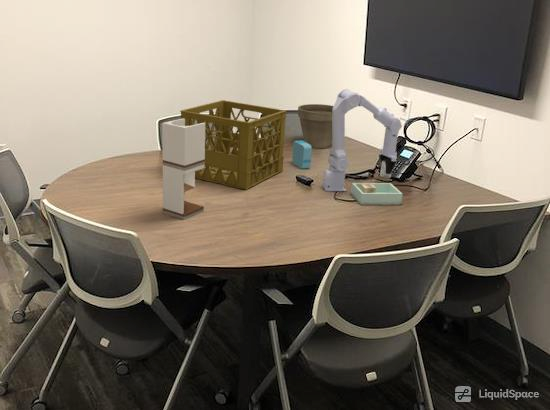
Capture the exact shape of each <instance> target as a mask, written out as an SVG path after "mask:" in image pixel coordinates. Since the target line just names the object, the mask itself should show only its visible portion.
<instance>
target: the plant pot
mask: <svg viewBox="0 0 550 410" xmlns="http://www.w3.org/2000/svg"><path fill="white" fill-rule="evenodd" d="M333 107H334V105H330V104H322V103H320V104H319V103H316V104H314V103H313V104H312V103H310V104H307V103H306V104H302V105H299V106H298V107H297V117H298V118H299V121H300V126H301V128H300V129H301V132H302V138H303V141H304V142H306V143H308V144H310V145H311V147H312V149H313V148H314V149H326V148H329V147H330V146H331V144H332V109H333Z"/></svg>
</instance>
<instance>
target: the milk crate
mask: <svg viewBox="0 0 550 410" xmlns="http://www.w3.org/2000/svg"><path fill="white" fill-rule="evenodd" d="M215 109H216V110H215ZM233 109H237V110H239V111H238V113H237V115H236V116H235V113H234V110H233ZM214 110H215V112H214ZM245 111H249V112H254V113H260V114H261V115H262V117H260V118H255V117H252V116H251V117H250V116H246V115H245V114H244V112H245ZM287 111H288V110H287V109H278V108H273V107H266V106H260V105H254V104H249V103H242V102H236V101H230V100H222V99H221V100H217V101H214V102H210V103H206V104H202V105H198V106H193V107H189V108H186V109H185V108H184V109H181V110H179V112H180V116H179V118H180V119H183V118H184V119H185V126H192V125H195V122H197V123H196V124H200V123H205V168H203V169H200V170H197V171H195V179H198V180H203V181H208V182H211V183H215V184H221V185H224V186H228V187H233V188H237V189H241V190H248V189H250V188H252V187H253V186H256V185H258V184H260V183H262V182H263V181H265V180H268V179H270V178H271V177H273V176H275V175H277V174H279V173H281V172H283V170H284V157H285V156H284V145H285V143H286V142H285V130H286V119H287V118H286V117H287ZM203 112H208V114H204V113H203ZM240 115H241V116H242V118H243V119H244V120H238V119H239V116H240ZM232 117H233V118H232ZM210 124H211V126H210ZM266 124H267V125H266ZM233 128H236V129H237V130H236V131H235V132H232V131H233ZM263 128H266V129H263ZM231 148H232V150H231V152H230V149H231ZM213 175H214V176H213Z"/></svg>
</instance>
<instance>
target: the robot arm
mask: <svg viewBox="0 0 550 410" xmlns="http://www.w3.org/2000/svg"><path fill="white" fill-rule="evenodd" d="M333 106H334V107H333V109H332V142H331V144H332V148H331V149H330V151H329V156H328V157H327V163H328V164H329V168H328V169H324V170H323V174H322V182H321V183H322V184H321V186H322V188H323V189H324V191H325V192H346V191H347V189H346V188H345V179H346V170H347V169H349V165H350V163H349V159H348V155H347V152H346V149H345V141H346V137H345V131H346V130H345V129H346V128H345V125H346V123H345V122H346V121H345V119H346V117H345V115H346V114H347V113H348V112H350V111H351V110H353V109H354V108H357V107H363V108H365V110H367V111H368V112H370V113H371V114H372V115H373V119H375V121H377V122H379V123H380V124H382V125H383V127H384V129H385V131H384V136H383V146H382V148H381V149H380V154H378V157H379V161H380V166H381V165H382V160H385V164H386V174H391V175H392V173H391V172H392V171H393V170H394V168H395V166H396V163H397V160H396V159H397V142H398V134H399V131H400V130H401V129H402V126H403V125H402V123H401V122H402V121H401V120H400V119H399V118H397V117H395V115H394V114H393V113H390V112H389V111H387V110H388V109H387V108H386V107H382V106H381V107H377V106H376V105H375V104H374V103H372V101H370V100H369V99H367V98H366V97H365V96H363V95H360V94H359V93H358V92H354V91H352V90H350V89H347V88H345V89H342V90H341V91H340V92H339V93H337V95H336V100H335V102H334V104H333Z"/></svg>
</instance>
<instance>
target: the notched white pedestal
mask: <svg viewBox="0 0 550 410" xmlns="http://www.w3.org/2000/svg"><path fill="white" fill-rule="evenodd" d="M205 123H206V122H204V123H200V124H198V123H196V124H194V125H192V126H185V119H184V118H183V119H181V118H179V119H174V120H170V121H169V120H168V121H165V122H162V123H161V124H162V125H161V126H162V130H161V131H162V132H161V133H162V135H161V136H162V139H161V140H162V213H163V214H165V215H168V216H171V217H174V218H177V219H180V220H183V221H184V220H185V221H186V220H188V219H189V218H192V217H195V216H197V215H199V214H201V213H203V212H204V211H205V208H204V207H205V206H202V205H199V204H197V203H194V202H190V201H187V200H185V194H186V192H188V191H190V190H194V189H195V188H196V187H195V186H196V178H195V171H197V170H200V169H203V168H206V166H205V139H206V138H205V135H206V134H205Z"/></svg>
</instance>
